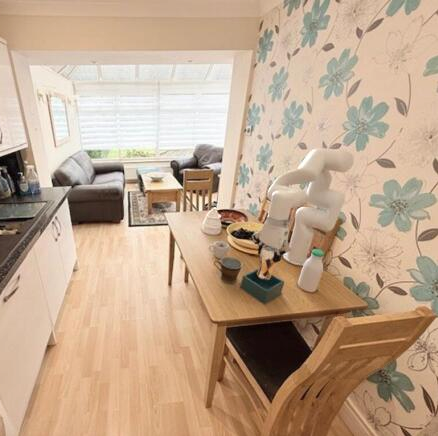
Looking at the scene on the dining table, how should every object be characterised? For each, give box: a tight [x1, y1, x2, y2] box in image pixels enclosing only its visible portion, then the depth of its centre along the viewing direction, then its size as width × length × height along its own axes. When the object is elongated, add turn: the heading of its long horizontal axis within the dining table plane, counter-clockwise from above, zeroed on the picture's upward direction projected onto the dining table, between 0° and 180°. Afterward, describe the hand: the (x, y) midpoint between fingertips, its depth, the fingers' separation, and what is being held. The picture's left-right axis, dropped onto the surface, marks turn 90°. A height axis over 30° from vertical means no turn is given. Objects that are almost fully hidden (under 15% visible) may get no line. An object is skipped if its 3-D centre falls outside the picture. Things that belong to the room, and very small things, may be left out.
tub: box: [240, 267, 285, 305], centre depth 111 cm, size 13×13×7 cm
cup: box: [208, 240, 230, 260], centre depth 138 cm, size 11×8×8 cm
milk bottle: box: [297, 248, 325, 293], centre depth 110 cm, size 8×8×20 cm
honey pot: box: [201, 206, 223, 236], centre depth 166 cm, size 13×13×18 cm
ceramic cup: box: [213, 256, 243, 284], centre depth 118 cm, size 13×10×10 cm
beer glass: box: [257, 244, 277, 280], centre depth 106 cm, size 7×7×15 cm
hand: (268, 257), depth 105 cm, fingers closed on beer glass, 7 cm apart
